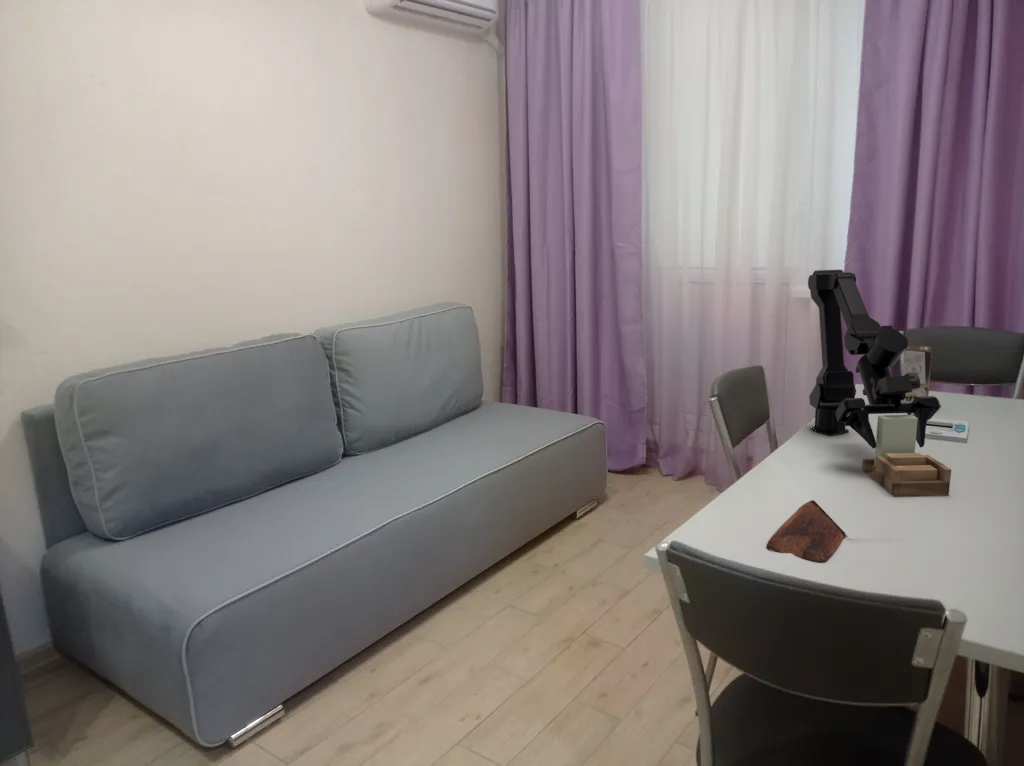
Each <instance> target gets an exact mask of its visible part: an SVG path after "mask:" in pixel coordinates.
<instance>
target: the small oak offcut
mask: <svg viewBox="0 0 1024 766" xmlns="http://www.w3.org/2000/svg"><path fill="white" fill-rule="evenodd" d="M896 467H897V468H899V469H900V470H901V481H936V479H937V469H936V468H934V467H932V466H931V465H917V466H896Z"/></svg>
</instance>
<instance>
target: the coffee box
mask: <svg viewBox="0 0 1024 766" xmlns="http://www.w3.org/2000/svg"><path fill="white" fill-rule="evenodd" d="M933 348H934V347H933V346H932V345H931V346H930V345H909V344H908V346H907V347H906V349H905V350H904V352H903V359H902V360H903V362H902V370H901V376H904V375H905V374H907V373H912V372H917V374H918V376H919V378H920V387H919V388H917V389H912V392H908V393H905V395H906V398H905V399H904V400H901V404H902V403H912V401H913V400H914V399H915V398H916V397H917V396H929V393H930V382H931V373H932V372H931V371H932V360H933V350H934V349H933Z"/></svg>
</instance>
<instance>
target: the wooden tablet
mask: <svg viewBox="0 0 1024 766" xmlns="http://www.w3.org/2000/svg"><path fill="white" fill-rule="evenodd" d="M845 535H846V532H845V531H844V530H843V529H842V528H841V527H840V526H839V525H838V524H837V523H836V522H835V521H834V519H832V518H831V516H830V515H828V513H827V511H825V510H824V509H823V508H822V507H821V506H820V505H819V504H818V503H817V502H816V501H815V500H813V499H811V500H810V501H808V502H805V503H804V504H802V505H801V506H800V507H799V508H798V509H797V510H796V511H795V512H794V513H793V514H792V515H791V516H790V517H789V518H788V519H787V520H786V521H785V522H783V523H782V525H780V526H779V528H778V529H777V530H776V531H775V532H774V533H773V534H772V535H771V537H770V539H768V541H767V543H766V550H768V551H770V552H774V553H779V554H791V555H793V556H794V557H796V558H798V559H802V560H806V561H810V562H815V563H825V562H826V561H827V560H828V559H829V558H830V557H831V556H832V555H833V554H834V553H835V552H836V550H837V549H838V547H839V546H840V545H841V543H842V541H843V539H844V538H845Z"/></svg>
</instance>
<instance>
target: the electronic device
mask: <svg viewBox="0 0 1024 766" xmlns="http://www.w3.org/2000/svg"><path fill="white" fill-rule="evenodd" d="M884 415H902V413H890V414H884ZM927 424H928V425H936V426H944V427H952V428H951V429H952V431H951V432H950V431H942V430H939V429H926V431H925V439H926V438H927V439H928V440H935V441H943V440H944V441H943V442H951V441H953V442H952V443H960V442H962V444H967V442H968V434H969V426H970V421H968V420H959V419H958V420H957V419H949V418H940V417H939V418H938V417H932V418H931V419H929V420H927V423H926V425H927Z"/></svg>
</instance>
